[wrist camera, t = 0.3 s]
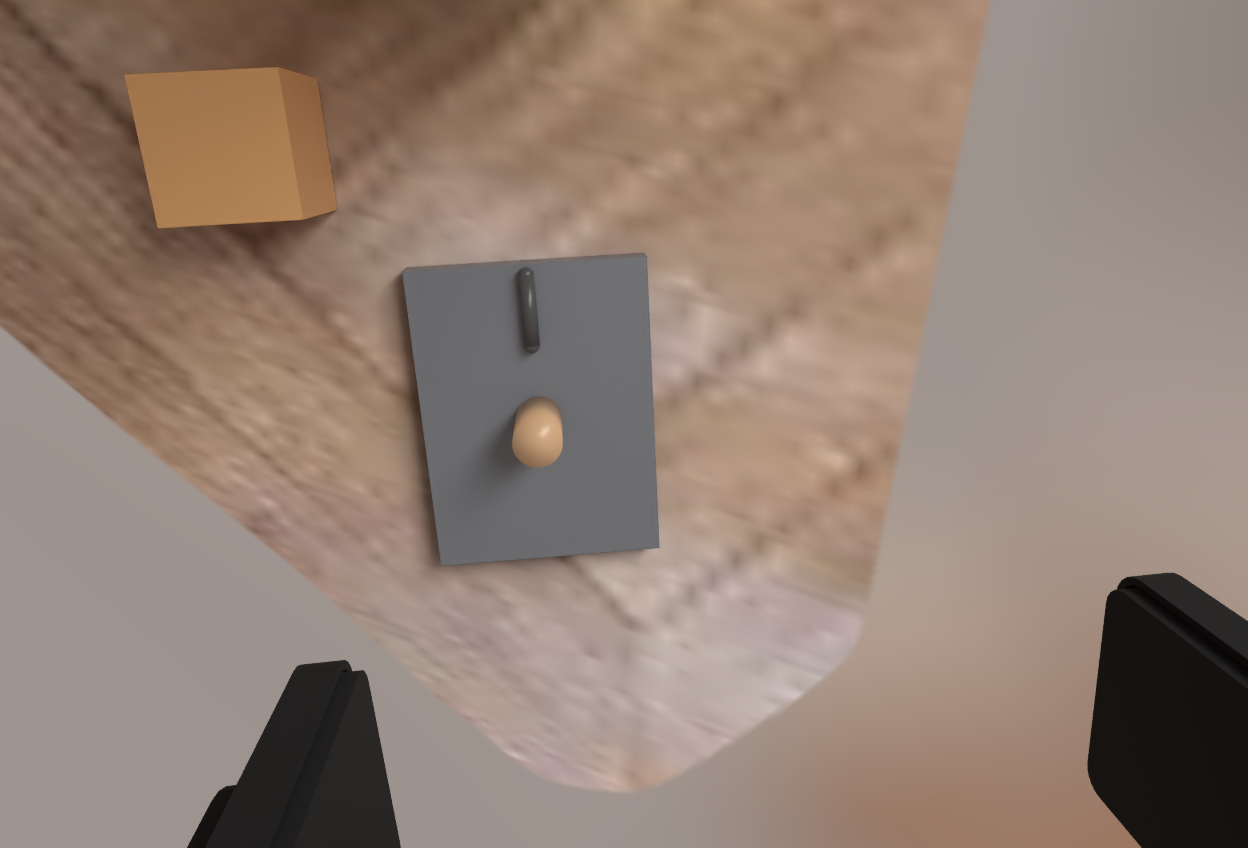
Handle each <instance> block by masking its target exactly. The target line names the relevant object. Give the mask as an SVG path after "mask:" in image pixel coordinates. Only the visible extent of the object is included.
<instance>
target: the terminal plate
mask: <svg viewBox="0 0 1248 848" xmlns="http://www.w3.org/2000/svg"><path fill="white" fill-rule="evenodd" d="M402 275H403V283H404V290H405V298H406V305H407V313H408V320H409V328H410V335H411V343H412V350H413V358H414V365H415V373H416V380H417V388H418V395H419V403H420V410H421V418H422V425H423V433H424V441H425V448H426V456H427V463H428V471H429V478H430V486H431V493H432V501H433V508H434V516H435V523H436V531H437V538H438V546H439V553H440V561H441V566H445V565H457V564H470V563H482V562H494V561H506V560H518V559H531V558H543V557H555V556H567V555H579V554H591V553H604V552H616V551H628V550H640V549H652V548H659V527H658V504H657V480H656V457H655V434H654V411H653V388H652V364H651V341H650V318H649V295H648V272H647V256H646V255H645V254H644V253H632V254H615V255H599V256H583V257H567V258H551V259H535V260H519V261H503V262H487V263H471V264H455V265H439V266H423V267H407V268H406V269H405V270H403V271H402Z"/></svg>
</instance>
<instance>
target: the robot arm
mask: <svg viewBox="0 0 1248 848" xmlns="http://www.w3.org/2000/svg"><path fill="white" fill-rule="evenodd" d="M1088 774H1089V778H1090V781H1091V784H1092V786H1093V788H1094V790H1095V792H1096V793H1097V795H1098V796H1099V797H1100V799H1101V800H1102V801H1103V802H1104V803H1105V805H1106V806H1107V807H1108V808H1109V809H1110V811H1111V812H1112V813H1113V814H1114V815H1115V816H1116V818H1117V819H1118V820H1119V821H1120V822H1121V823H1122V825H1123V826H1124V827H1125V828H1126V830H1127V831H1128V832H1129V833H1130V834H1131V836H1132V837H1133V838H1134V839H1135V840H1136V841H1137V843H1138V844H1139V845H1140V846H1141V847H1142V848H1248V621H1247V620H1245V619H1244V618H1242V617H1241V616H1239V615H1238V614H1236V613H1235V612H1233V611H1232V610H1230V609H1229V608H1227V607H1226V606H1225V605H1223V604H1222V603H1220V602H1219V601H1217V600H1216V599H1214V598H1212V597H1211V596H1210V595H1208V594H1207V593H1205V592H1204V591H1202V590H1201V589H1200V588H1198V587H1196V586H1195V585H1194V584H1192V583H1191V582H1189V581H1188V580H1186V579H1185V578H1183V577H1182V576H1180V575H1178V574H1175V573H1161V574H1152V575H1142V576H1132V577H1127V578H1125V579H1123V580H1121V582H1120V583H1119V585H1118V587H1117V590H1114V591H1112V592H1110V594H1109V595H1108V597H1107V601H1106V609H1105V617H1104V625H1103V634H1102V642H1101V651H1100V659H1099V668H1098V677H1097V685H1096V694H1095V703H1094V711H1093V720H1092V728H1091V737H1090V746H1089V754H1088ZM187 848H401V847H400V840H399V835H398V830H397V825H396V820H395V815H394V810H393V805H392V799H391V794H390V789H389V784H388V779H387V774H386V768H385V763H384V758H383V753H382V748H381V743H380V738H379V733H378V727H377V722H376V717H375V712H374V707H373V702H372V696H371V692H370V687H369V682H368V678H367V675H366V673H365V671H363V670H361V671H352V669H351V666H350V664H349V662H347V661H346V660H341V661H331V662H323V663H312V664H303V665H299V666H297V667H296V669H295V670H294V671H293V673H292V675H291V677H290V679H289V681H288V683H287V686H286V688H285V690H284V691H283V693H282V696H281V697H280V699H279V701H278V703H277V705H276V707H275V709H274V711H273V713H272V715H271V717H270V719H269V721H268V723H267V725H266V727H265V729H264V731H263V733H262V735H261V737H260V739H259V741H258V743H257V745H256V748H255V749H254V752H253V753H252V755H251V757H250V759H249V761H248V763H247V765H246V767H245V769H244V771H243V773H242V775H241V777H240V779H239V781H238V783H237V785H233V786H226V787H224V788H223V789H221V790H220V791H218V793H217V794H216V796H215V797H214V799H213V800H212V801H211V803H210V805H209V807H208V809H207V811H206V813H205V815H204V816H203V818H202V820H201V822H200V824H199V826H198V828H197V830H196V832H195V834H194V836H193V837H192V839H191V841H190V843H189V845H188V847H187Z"/></svg>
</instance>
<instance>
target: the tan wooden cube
mask: <svg viewBox="0 0 1248 848" xmlns="http://www.w3.org/2000/svg"><path fill="white" fill-rule="evenodd" d="M124 76H125V80H126V85H127V90H128V94H129V99H130V103H131V108H132V112H133V117H134V122H135V126H136V131H137V135H138V140H139V144H140V149H141V154H142V158H143V163H144V167H145V172H146V176H147V181H148V185H149V190H150V195H151V199H152V204H153V208H154V213H155V217H156V222H157V227H158V228H170V227H187V226H204V225H221V224H238V223H255V222H272V221H290V220H304V219H307V218H311V217H314V216H318V215H321V214H325V213H328V212H332V211H335V210H337V204H336V198H335V191H334V184H333V178H332V171H331V165H330V158H329V152H328V145H327V139H326V132H325V126H324V119H323V113H322V106H321V100H320V93H319V87H318V80H317V78H314V77H311V76H307V75H304V74H300V73H297V72H293V71H290V70H286V69H283V68H279V67H268V68H247V69H226V70H206V71H185V72H165V73H144V74H124Z"/></svg>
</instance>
